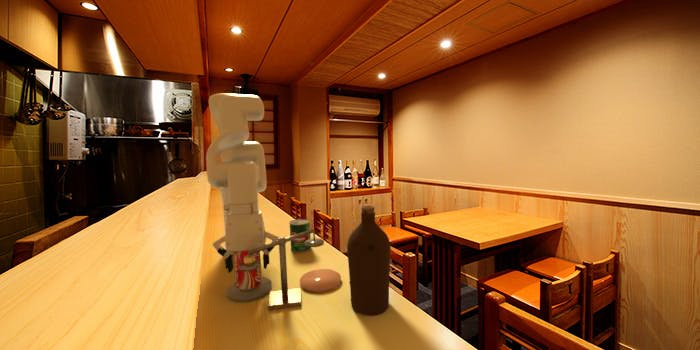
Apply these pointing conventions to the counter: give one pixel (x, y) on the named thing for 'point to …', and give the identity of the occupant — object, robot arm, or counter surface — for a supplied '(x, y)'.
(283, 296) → the balance
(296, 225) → the canned tomato
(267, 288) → the dish low
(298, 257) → the counter surface
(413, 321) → the counter surface
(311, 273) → the dish high
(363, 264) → the olive oil
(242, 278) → the soda can
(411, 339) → the counter surface
